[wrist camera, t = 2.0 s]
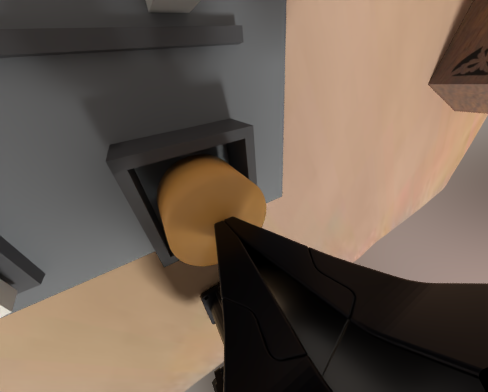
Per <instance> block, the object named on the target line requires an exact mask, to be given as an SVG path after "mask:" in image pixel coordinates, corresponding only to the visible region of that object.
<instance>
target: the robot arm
mask: <svg viewBox="0 0 488 392" xmlns="http://www.w3.org/2000/svg"><path fill="white" fill-rule="evenodd" d="M214 230H215V240H216V250H217V260H218V270H219V280H220V284H218V285H217V286H215V287H213V288H211V289H209V290H208V291H206V292H204V293H203V294H202V295H201V299H202V302H203V304H204V306H205V308H206V311H207V313H208V315H209V318H210V320H211V322H212V324H216V326H217V329H218V331H219V334H220V336H221V339H222V342H223V344H224V366H223V367H222V368H218V369H217V370H216V371H214V373H215V377H216V378H215V379H214V380H213V382H212V384H213V387H214V391H215V392H488V284H475V283H474V284H473V283H469V284H468V283H463V284H462V283H461V284H460V283H424V282H417V281H411V280H406V279H403V278H399V277H396V276H392V275H389V274H386V273H383V272H380V271H376V270H373V269H370V268H367V267H364V266H360V265H357V264H354V263H351V262H348V261H345V260H342V259H339V258H336V257H333V256H331V255H328V254H325V253H323V252H320V251H318V250H315V249H313V248H310V247H309V248H308V247H307V246H305V245H303V244H300V243H298V242H295V241H293V240H290V239H288V238H285V237H283V236H280V235H278V234H275V233H273V232H270V231H268V230H265V229H263V228H261V227H258V226H256V225H253V224H251V223H248V222H246V221H243V220H241V219H238V218H236V217H233V216H232V217H229V218H227V219H225V220H224V221H220V222H217V223H215V224H214Z"/></svg>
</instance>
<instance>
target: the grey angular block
mask: <svg viewBox="0 0 488 392" xmlns="http://www.w3.org/2000/svg"><path fill="white" fill-rule="evenodd" d="M145 1H146V4H147V8H148V11H149V12H155V13H190V11H191V10H192V9H193V8H194V7H195V6H196V5H197V4H198V3H199V1H200V0H145Z"/></svg>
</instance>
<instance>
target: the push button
mask: <svg viewBox="0 0 488 392" xmlns="http://www.w3.org/2000/svg"><path fill="white" fill-rule="evenodd" d="M156 199H157V205H158V209H159V212H160V216H161V219H162V223H163V226H164V230H165V234H166V237H167V241H168V244H169V247H170V249H171V251H172V253H173V254H174V255H175V256H176V257H177V258H178V259H179V260H180V261H182V262H184V263H186V264H189V265H193V266H211V265H215V264H218V260H217V250H216V240H215V230H214V224H215V223H217V222H220V221H224V220H225V219H227V218H229V217H232V216H233V217H236V218H238V219H241V220H243V221H246V222H248V223H251V224H253V225H256V226H258V227H262V225H263V223H264V220H265V215H266V201H265V197H264V195H263V193H262V191H261V190H260V188H259V187H258V186H257V185H256V184H254V183H253V182H252V181H250V180H249V179H248V178H246V177H245V176H244V175H242V174H241V173H240V172H238V171H237V170H236V169H234V168H233V167H232V166H230V165H229V164H228V163H226V162H225V161H224V160H222V159H220V158H218V157H216V156H213V155H208V154H198V155H192V156H188V157H186V158H183V159H181V160H179V161H178V162H176V163H175V164H173V165H172V166H171V167H170V168H169V169H168V170H167V171H166V172H165V173H164V175H163V176H162V178H161V180H160V182H159V185H158V188H157V194H156Z"/></svg>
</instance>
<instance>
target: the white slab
mask: <svg viewBox="0 0 488 392" xmlns="http://www.w3.org/2000/svg"><path fill="white" fill-rule="evenodd" d="M16 295H17V290H16V289H14V288H13V287H11V286H10V285H9V284H7V283H6V282H4V281H3V280H1V279H0V318H1V317H3V316H5V315H7V314H9V313H11V312H12V309H13V306H14V302H15V298H16Z"/></svg>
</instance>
